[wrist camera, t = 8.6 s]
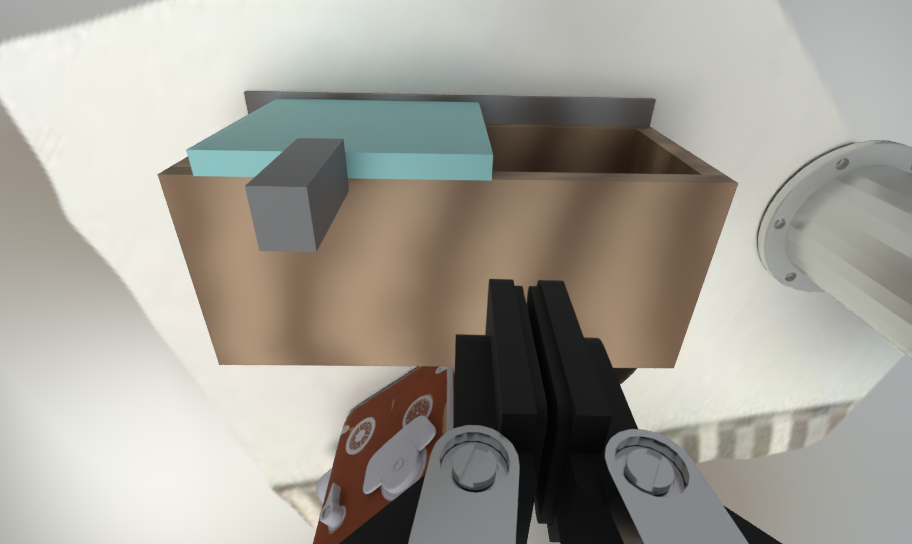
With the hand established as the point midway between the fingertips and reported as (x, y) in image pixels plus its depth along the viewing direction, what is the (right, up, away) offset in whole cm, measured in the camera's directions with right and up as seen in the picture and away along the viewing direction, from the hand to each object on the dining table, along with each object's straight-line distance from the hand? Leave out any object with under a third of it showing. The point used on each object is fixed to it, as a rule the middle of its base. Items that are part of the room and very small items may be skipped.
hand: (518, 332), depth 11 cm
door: (-7, +12, +20) cm, 25 cm away
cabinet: (-2, +7, +25) cm, 26 cm away
